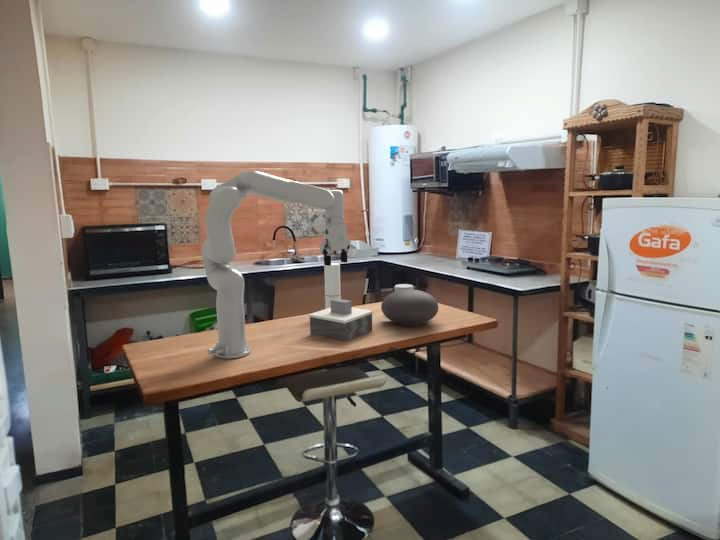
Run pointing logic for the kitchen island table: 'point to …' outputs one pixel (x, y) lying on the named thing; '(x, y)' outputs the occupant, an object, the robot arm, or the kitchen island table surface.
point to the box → (341, 328)
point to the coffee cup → (403, 287)
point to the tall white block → (332, 283)
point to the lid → (341, 312)
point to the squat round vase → (409, 307)
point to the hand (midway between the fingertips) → (335, 263)
